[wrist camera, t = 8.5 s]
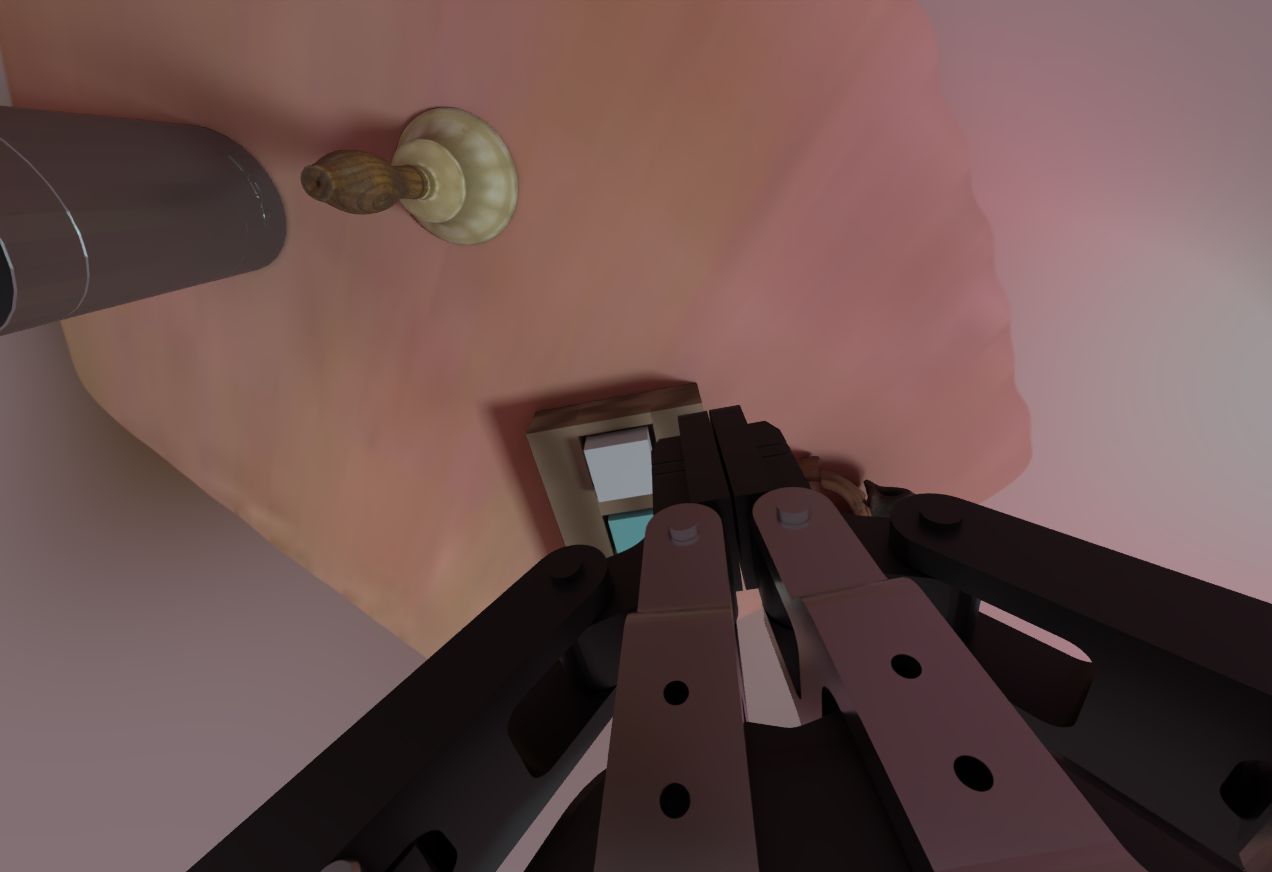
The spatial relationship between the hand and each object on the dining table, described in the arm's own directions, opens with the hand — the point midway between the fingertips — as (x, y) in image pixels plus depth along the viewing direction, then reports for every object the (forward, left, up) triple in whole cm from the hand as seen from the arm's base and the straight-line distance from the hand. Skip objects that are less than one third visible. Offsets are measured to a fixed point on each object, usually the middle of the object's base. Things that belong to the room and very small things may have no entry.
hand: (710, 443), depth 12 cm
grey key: (-6, -14, -24) cm, 28 cm away
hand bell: (-13, +8, -27) cm, 31 cm away
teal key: (-6, -22, -25) cm, 34 cm away
